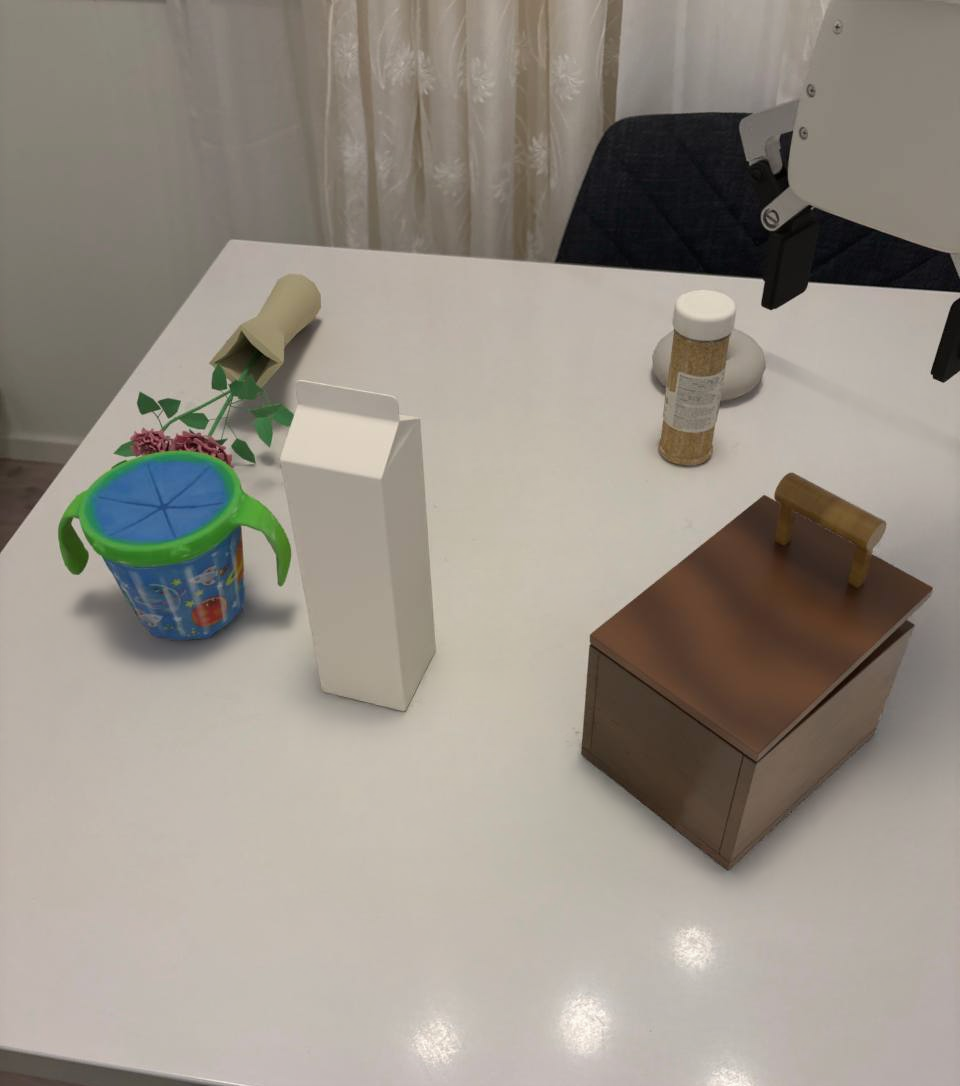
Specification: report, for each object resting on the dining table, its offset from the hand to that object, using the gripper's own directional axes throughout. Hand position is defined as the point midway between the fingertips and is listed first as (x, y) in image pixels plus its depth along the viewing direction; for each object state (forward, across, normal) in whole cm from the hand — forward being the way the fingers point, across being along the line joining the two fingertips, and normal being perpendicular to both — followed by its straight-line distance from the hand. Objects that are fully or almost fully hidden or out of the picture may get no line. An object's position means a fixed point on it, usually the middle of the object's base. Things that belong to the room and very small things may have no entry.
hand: (864, 333), depth 54 cm
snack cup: (+25, +33, +25) cm, 48 cm away
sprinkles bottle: (+26, +20, -15) cm, 36 cm away
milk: (+25, +19, +19) cm, 37 cm away
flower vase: (+25, +49, +8) cm, 56 cm away
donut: (+26, +26, -25) cm, 44 cm away
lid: (+14, -1, +7) cm, 16 cm away
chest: (+25, -1, +7) cm, 26 cm away
